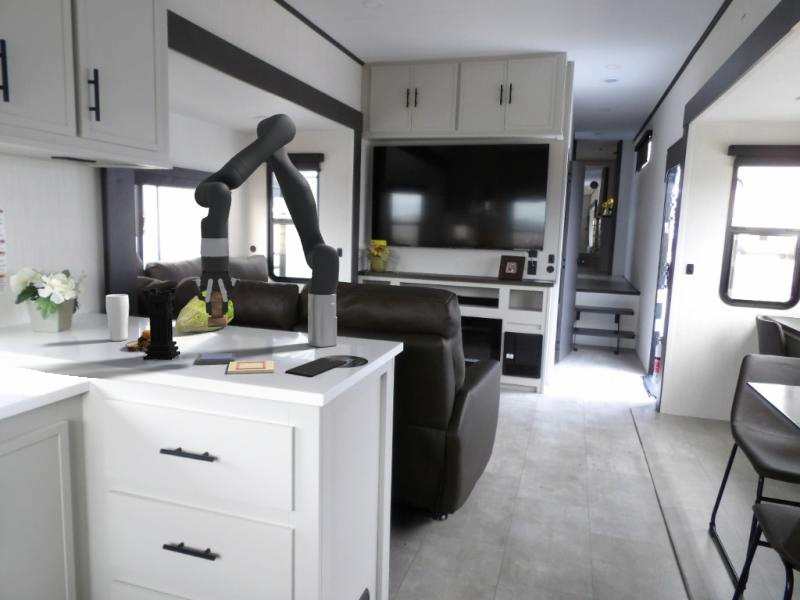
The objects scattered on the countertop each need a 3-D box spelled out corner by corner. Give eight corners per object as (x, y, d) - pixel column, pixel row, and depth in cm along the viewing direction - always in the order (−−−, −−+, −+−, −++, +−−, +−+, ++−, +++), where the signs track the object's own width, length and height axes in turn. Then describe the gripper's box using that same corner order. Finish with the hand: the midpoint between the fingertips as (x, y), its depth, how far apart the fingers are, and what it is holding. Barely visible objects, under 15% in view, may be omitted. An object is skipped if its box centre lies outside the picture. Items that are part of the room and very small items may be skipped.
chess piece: (153, 353, 167) (150, 287, 164) (180, 353, 168) (178, 288, 165) (143, 359, 159) (140, 290, 157) (171, 360, 160) (169, 291, 157)
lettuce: (203, 350, 193) (170, 351, 200) (244, 317, 213) (213, 318, 220) (187, 313, 188) (153, 315, 194) (230, 282, 208) (199, 285, 214)
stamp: (227, 323, 162) (226, 288, 160) (226, 326, 157) (225, 290, 156) (209, 324, 161) (208, 288, 159) (207, 327, 156) (206, 290, 154)
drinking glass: (102, 340, 183) (100, 295, 181) (119, 337, 189) (118, 293, 187) (117, 342, 180) (115, 297, 178) (134, 339, 186) (133, 295, 184)
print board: (273, 363, 159) (273, 359, 159) (274, 372, 150) (273, 368, 149) (230, 364, 156) (230, 361, 156) (227, 373, 147) (227, 370, 147)
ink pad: (235, 357, 165) (235, 352, 165) (234, 363, 158) (234, 358, 158) (200, 357, 163) (200, 353, 163) (196, 364, 155) (196, 359, 155)
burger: (153, 343, 183) (152, 320, 182) (174, 348, 176) (173, 325, 175) (117, 348, 173) (116, 325, 172) (138, 354, 166) (137, 330, 165)
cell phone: (347, 364, 162) (347, 361, 162) (311, 379, 146) (311, 375, 146) (322, 360, 166) (322, 357, 166) (284, 374, 150) (284, 370, 150)
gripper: (241, 253, 161) (243, 312, 164) (190, 253, 158) (192, 313, 160) (240, 255, 154) (242, 316, 157) (186, 255, 151) (189, 317, 153)
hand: (217, 314), depth 158 cm, fingers closed on stamp, 3 cm apart
